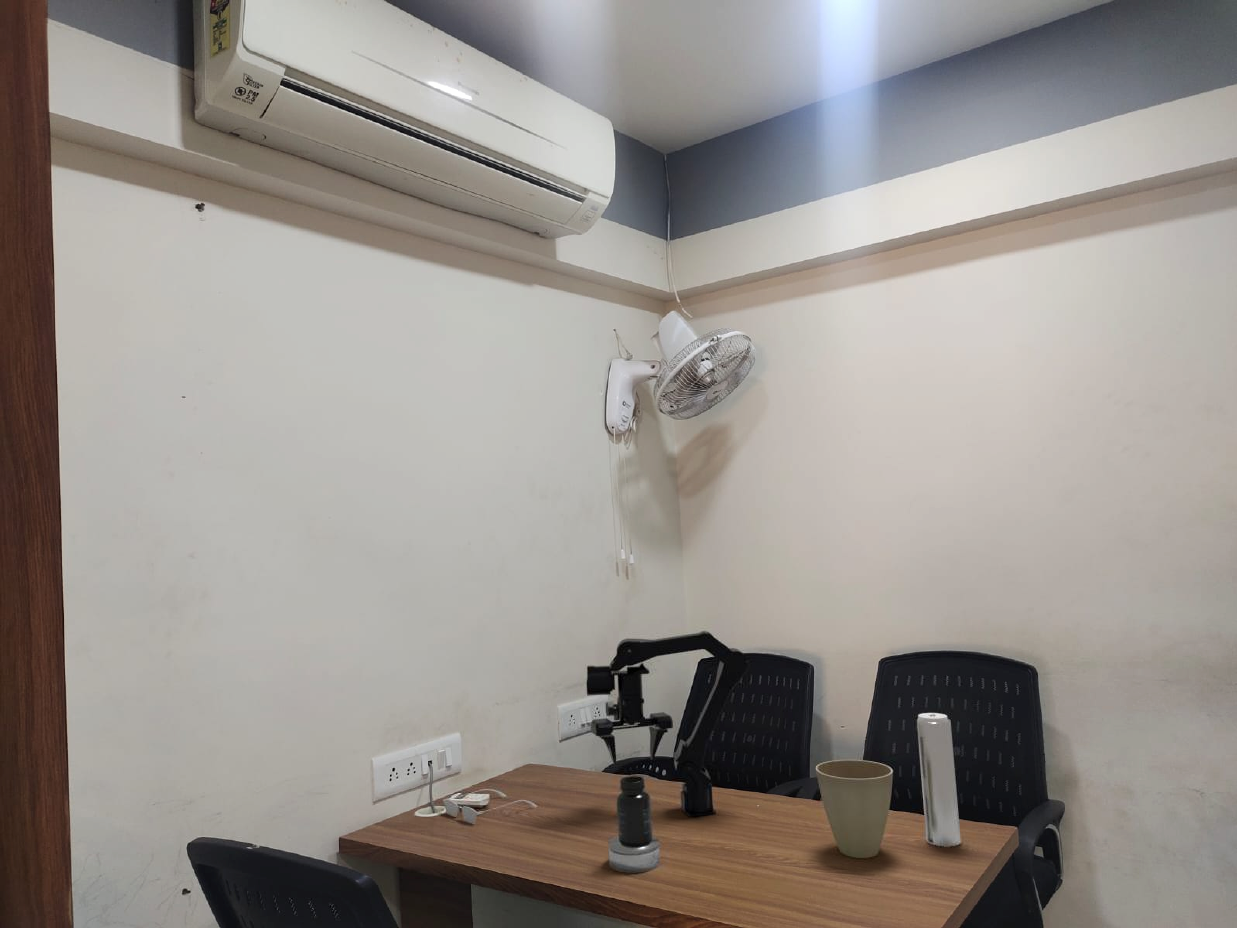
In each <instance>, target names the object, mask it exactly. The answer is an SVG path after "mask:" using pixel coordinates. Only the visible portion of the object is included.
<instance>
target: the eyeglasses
mask: <svg viewBox="0 0 1237 928" xmlns="http://www.w3.org/2000/svg"><path fill="white" fill-rule="evenodd" d="M482 791H493V792H494V793H495V794H498V796H499V797H500V798H506V797H507V795H506V794H505V793H503V792H501V791H499V790H496V789H492V788H491V789H490V788H484V789H479V790H476V791H473V792H469V793H465V794H462V795H458V796H455V797H452V798H445V799H443V800H442V802H443V803H444V809H445V812H446V815H449V816H452V817H453V818H454V817H455V818H456V817H457V815H458V813H459V812H460V809H461V814H462V817H463V820H464V822H466V823H468V824H472V825H475V823H476V820H477V816H479V815H482V814H483V813H485V812H489V811H493V810H495V809H499V808H502V807H505V806H508V805H513V804H516V803H518V802H525V803H527V804H529V805H530V806H531V808H532V809H535V808H538V805H536V804H535V803H534V802H531V801H530V800H525V799H520V800H515V801H512V802H511V803H508V804H504V805H501V806H498V807H495V808H491V809H488V810H484V811H482V810H480V811H476V810H475V809H474V808H472V807H469V806H458V804H457V803H456V802H454V801H453V800H454V799H456V798H459V797H462V796H466V795H470V794H473V793H476V792H477V793H478V792H482ZM452 799H453V800H452Z"/></svg>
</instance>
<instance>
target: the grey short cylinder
mask: <svg viewBox="0 0 1237 928" xmlns="http://www.w3.org/2000/svg"><path fill="white" fill-rule="evenodd" d="M607 844H608V862H609V867H610V868H611V869H612V870H614V871H617V872H621V873H628V874H632V873H633V874H635V873H643V872H644V873H645V872H648V871H651V870H654V869H656V868H658V867H659V865H660V864H661V856H660V855H661V854H660V852H661V851H660V840H659V838H658V837H657V836H656V835H653V839H652V841H651V842H650V843H649V844H647V845H644V846H640V847H628V846H624V845H622V844H621V843H620V842H619V836H618V835H617V836H614V837H612V838H611V839H609V841H608V843H607Z"/></svg>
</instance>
